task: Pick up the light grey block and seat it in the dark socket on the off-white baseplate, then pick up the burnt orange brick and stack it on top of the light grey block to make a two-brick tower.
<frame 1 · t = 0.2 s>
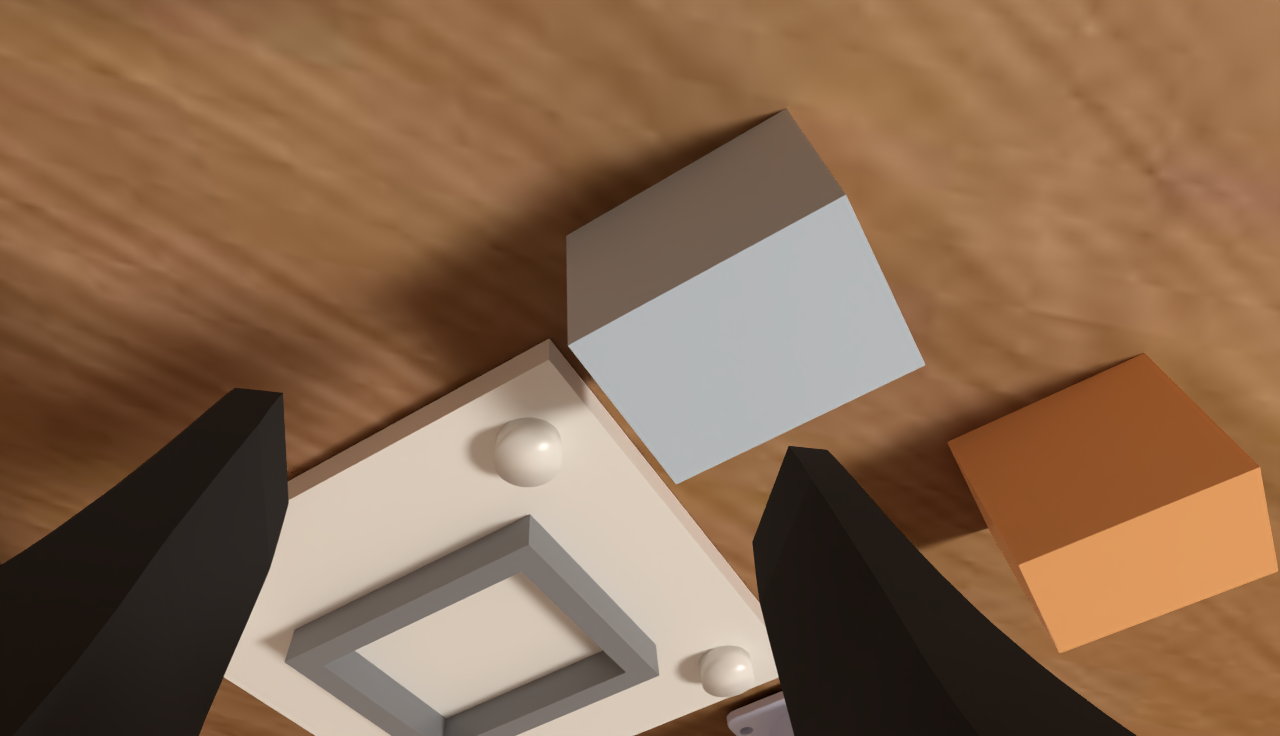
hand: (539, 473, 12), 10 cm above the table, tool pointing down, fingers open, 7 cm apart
light grey block: (714, 244, 21), on the table
orange brick: (1059, 445, 26), on the table
baseplate: (483, 612, 28), on the table
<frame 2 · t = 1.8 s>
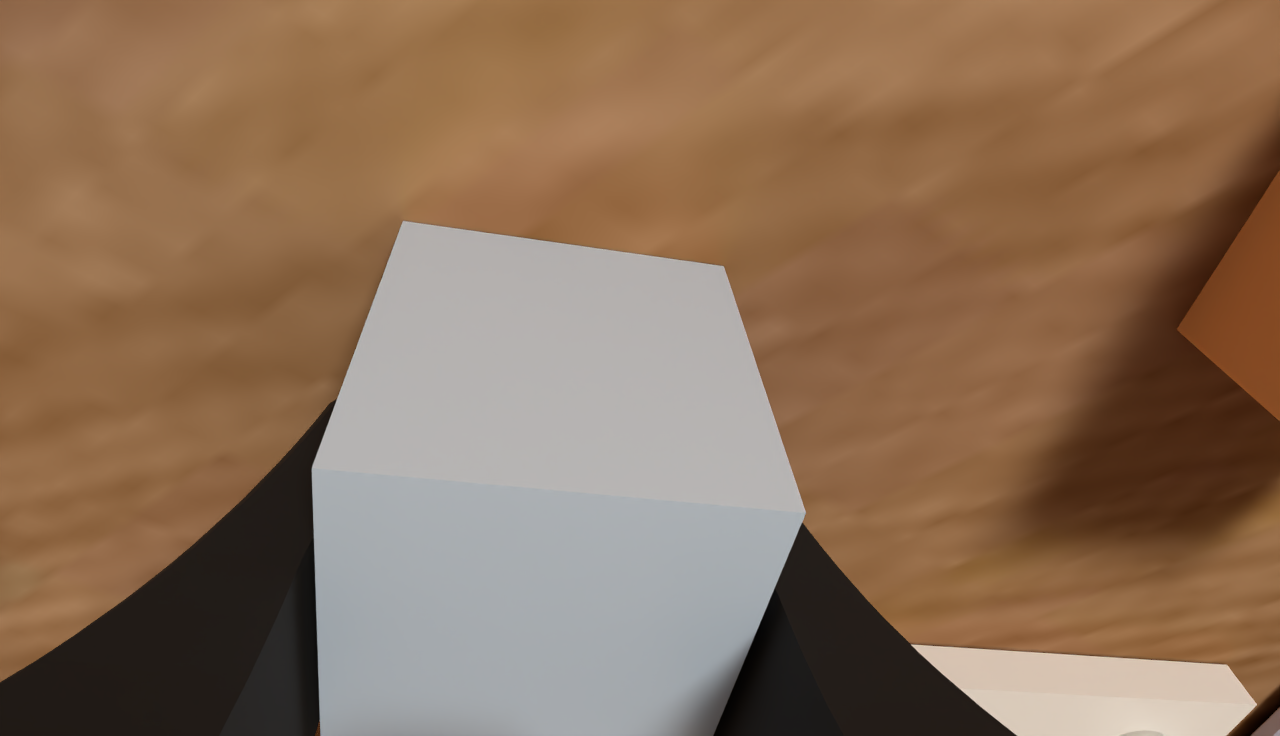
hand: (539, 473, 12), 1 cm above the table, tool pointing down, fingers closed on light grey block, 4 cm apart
light grey block: (541, 413, 13), on the table, touching gripper
when the fingers open (4 cm above the table, at t = 6.0 s): light grey block drops 1 cm, resting on baseplate.
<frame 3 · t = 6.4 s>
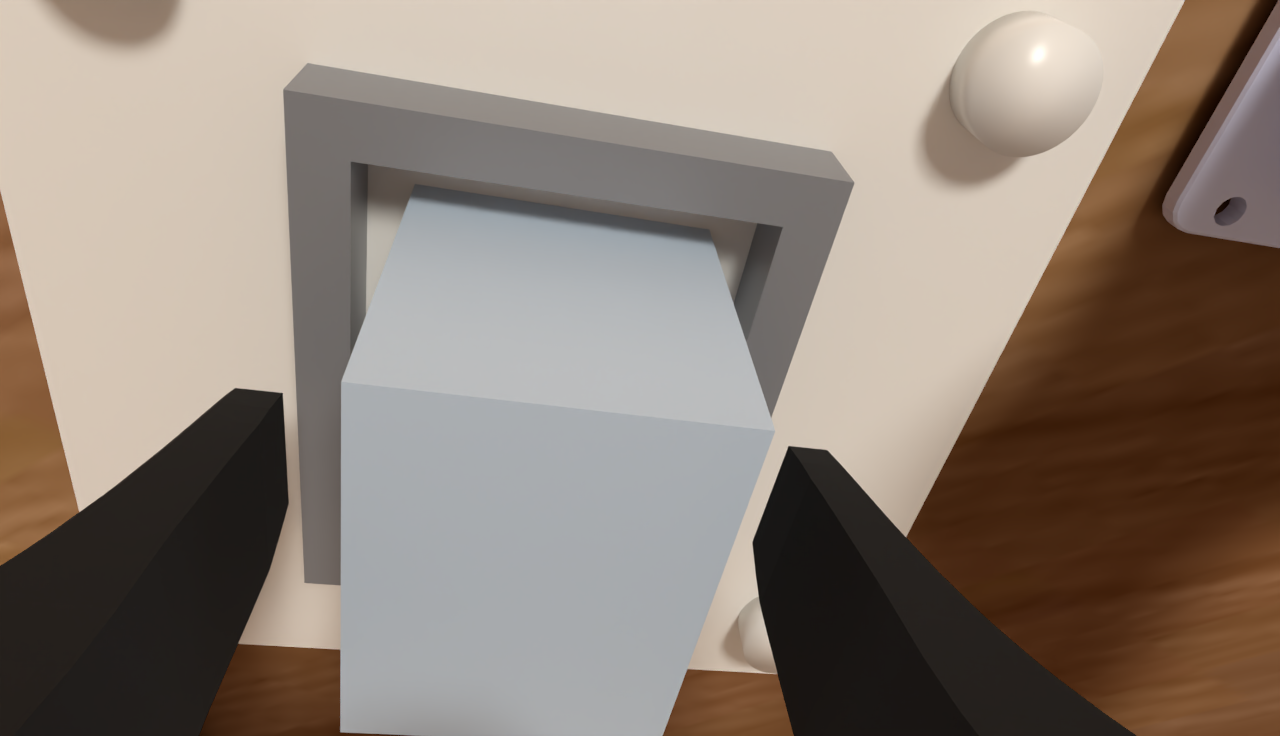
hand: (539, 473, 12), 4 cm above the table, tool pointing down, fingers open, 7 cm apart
light grey block: (540, 367, 14), point 1 cm above the table, touching baseplate
baseplate: (544, 336, 15), on the table
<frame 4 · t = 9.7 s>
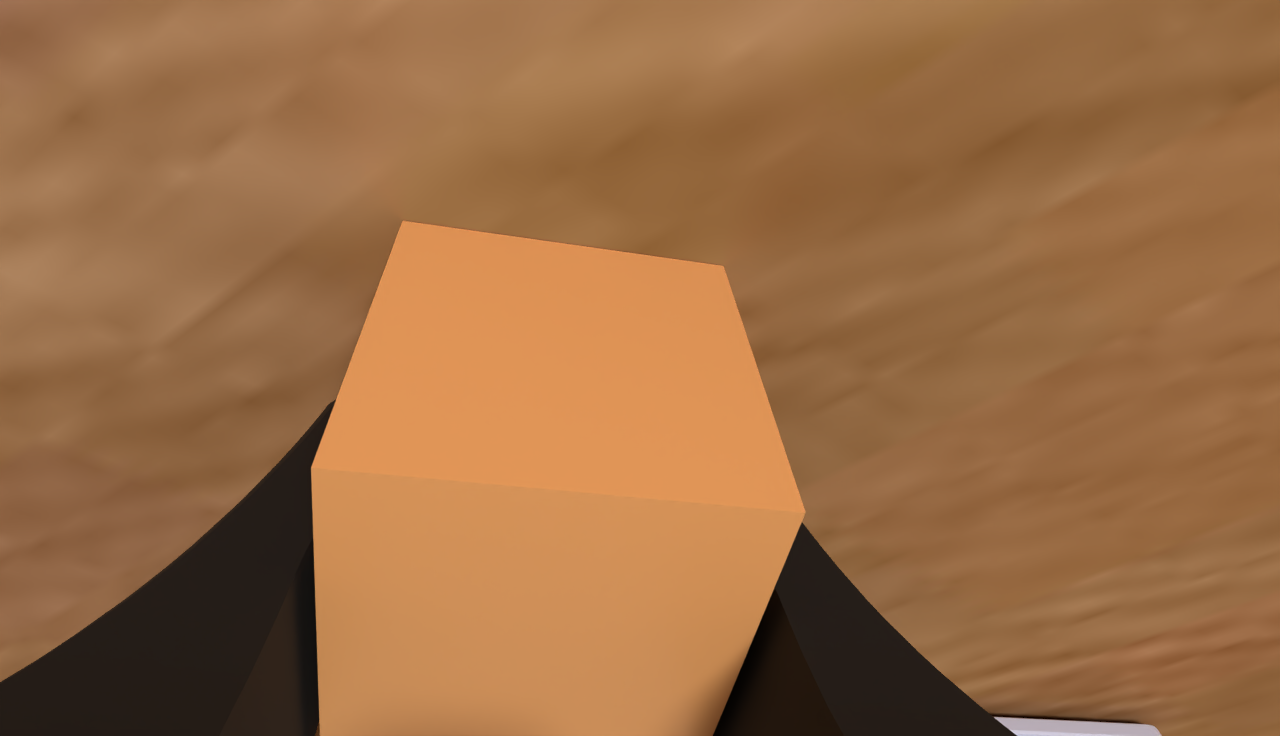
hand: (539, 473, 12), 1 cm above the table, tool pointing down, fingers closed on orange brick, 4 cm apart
orange brick: (541, 412, 13), on the table, touching gripper
when the fingers open (8 cm above the table, at t = 13.5 s): orange brick stays where it is, resting on light grey block.
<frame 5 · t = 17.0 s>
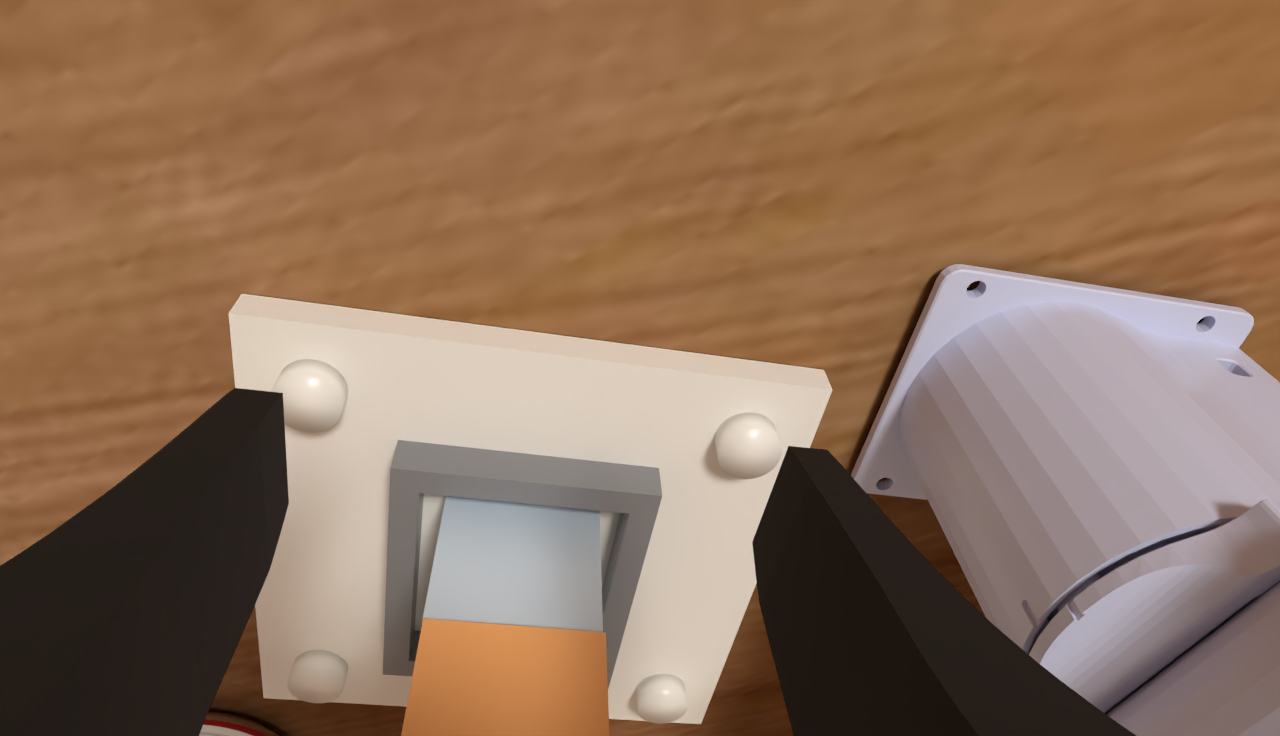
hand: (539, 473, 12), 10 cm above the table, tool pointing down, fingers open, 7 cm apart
light grey block: (513, 562, 27), point 1 cm above the table, touching baseplate, orange brick
orange brick: (503, 698, 22), point 6 cm above the table, touching light grey block
baseplate: (516, 539, 27), on the table
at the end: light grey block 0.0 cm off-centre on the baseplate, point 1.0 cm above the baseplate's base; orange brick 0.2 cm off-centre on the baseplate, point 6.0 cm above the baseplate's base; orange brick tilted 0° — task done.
